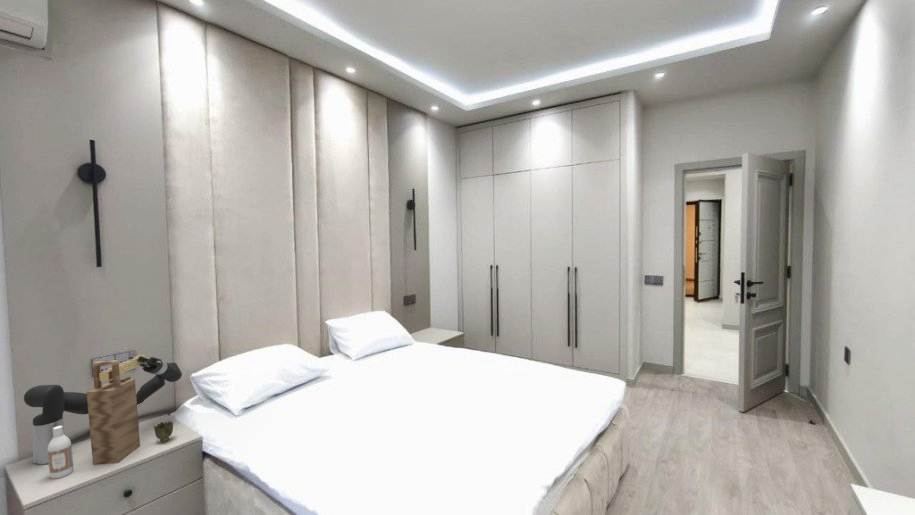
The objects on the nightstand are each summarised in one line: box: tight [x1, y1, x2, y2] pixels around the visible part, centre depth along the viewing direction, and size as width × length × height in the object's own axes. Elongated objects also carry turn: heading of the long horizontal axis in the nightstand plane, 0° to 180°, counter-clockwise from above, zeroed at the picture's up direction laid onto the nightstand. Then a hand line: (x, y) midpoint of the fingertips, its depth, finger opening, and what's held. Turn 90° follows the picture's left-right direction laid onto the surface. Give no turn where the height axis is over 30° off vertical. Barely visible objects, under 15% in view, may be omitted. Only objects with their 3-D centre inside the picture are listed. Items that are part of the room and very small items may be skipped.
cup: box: [153, 420, 174, 443], centre depth 189 cm, size 8×7×8 cm
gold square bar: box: [99, 353, 149, 382], centre depth 183 cm, size 4×26×4 cm, turn 7°
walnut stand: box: [86, 359, 141, 466], centre depth 176 cm, size 10×14×44 cm
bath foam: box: [48, 426, 74, 480], centre depth 163 cm, size 7×7×20 cm
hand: (134, 358), depth 189 cm, fingers closed on gold square bar, 3 cm apart
